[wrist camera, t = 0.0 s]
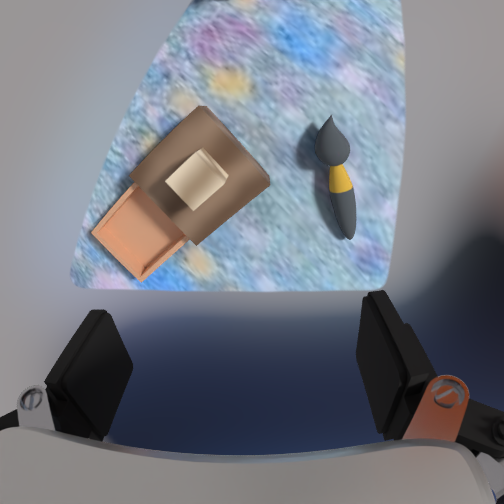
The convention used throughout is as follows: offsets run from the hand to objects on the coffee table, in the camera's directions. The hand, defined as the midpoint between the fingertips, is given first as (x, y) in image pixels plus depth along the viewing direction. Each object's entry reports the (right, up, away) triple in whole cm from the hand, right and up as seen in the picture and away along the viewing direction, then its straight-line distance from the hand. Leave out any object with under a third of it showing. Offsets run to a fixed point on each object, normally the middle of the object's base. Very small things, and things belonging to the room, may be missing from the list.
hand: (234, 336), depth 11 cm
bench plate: (-7, +15, +34) cm, 38 cm away
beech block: (-6, +12, +26) cm, 30 cm away
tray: (-17, +7, +38) cm, 43 cm away
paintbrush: (+14, +14, +34) cm, 40 cm away
